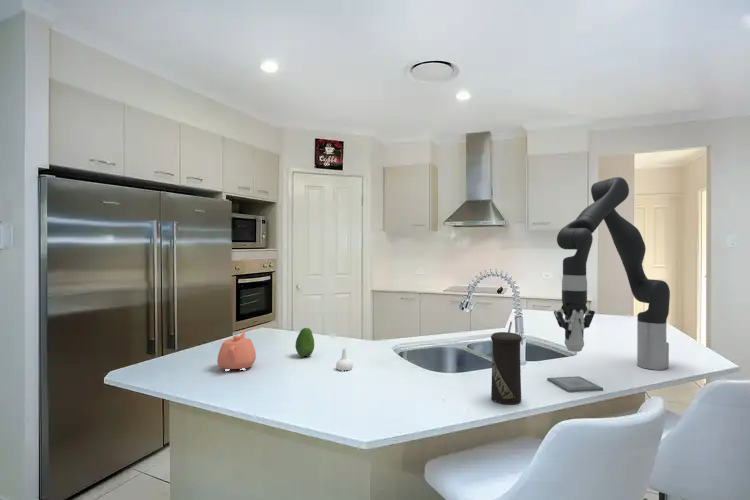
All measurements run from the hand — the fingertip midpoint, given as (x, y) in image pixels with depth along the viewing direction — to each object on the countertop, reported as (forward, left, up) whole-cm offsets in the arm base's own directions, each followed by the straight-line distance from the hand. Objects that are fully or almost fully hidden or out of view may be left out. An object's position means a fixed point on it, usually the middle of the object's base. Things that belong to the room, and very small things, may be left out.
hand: (574, 340), depth 137 cm
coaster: (0, 0, -15) cm, 15 cm away
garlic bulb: (+74, -29, -15) cm, 81 cm away
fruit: (+89, -49, -15) cm, 103 cm away
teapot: (+114, -37, -15) cm, 121 cm away
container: (+28, +9, -15) cm, 33 cm away
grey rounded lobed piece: (0, 0, -3) cm, 3 cm away
